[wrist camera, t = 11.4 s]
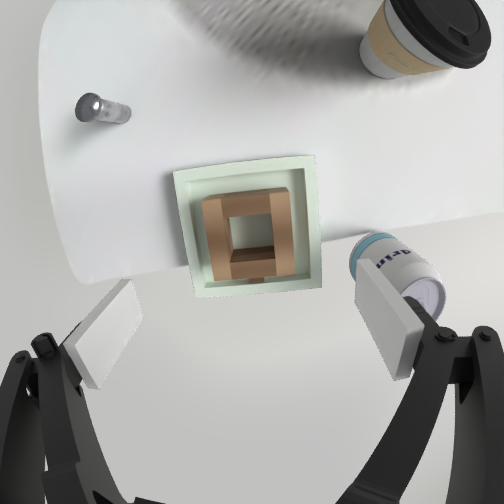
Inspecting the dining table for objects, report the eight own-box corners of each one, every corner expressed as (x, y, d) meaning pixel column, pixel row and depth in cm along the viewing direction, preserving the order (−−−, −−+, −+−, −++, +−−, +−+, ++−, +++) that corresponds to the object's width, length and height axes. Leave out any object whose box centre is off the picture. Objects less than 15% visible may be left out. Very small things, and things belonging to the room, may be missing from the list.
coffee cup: (363, 99, 25) (439, 64, 11) (330, 27, 22) (373, -45, 8) (427, 88, 24) (512, 66, 9) (396, 21, 21) (460, -30, 7)
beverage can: (383, 217, 29) (439, 253, 18) (406, 262, 31) (458, 310, 20) (336, 251, 31) (371, 304, 20) (362, 293, 33) (399, 354, 21)
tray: (178, 170, 28) (172, 171, 27) (311, 155, 27) (315, 155, 26) (199, 290, 33) (195, 298, 31) (318, 279, 32) (321, 287, 30)
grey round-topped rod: (112, 106, 26) (74, 98, 19) (132, 100, 26) (97, 88, 19) (113, 128, 27) (76, 125, 20) (134, 122, 27) (99, 116, 20)
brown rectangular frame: (209, 195, 29) (201, 201, 25) (285, 186, 28) (289, 191, 24) (222, 278, 32) (216, 295, 28) (292, 272, 31) (296, 288, 28)
